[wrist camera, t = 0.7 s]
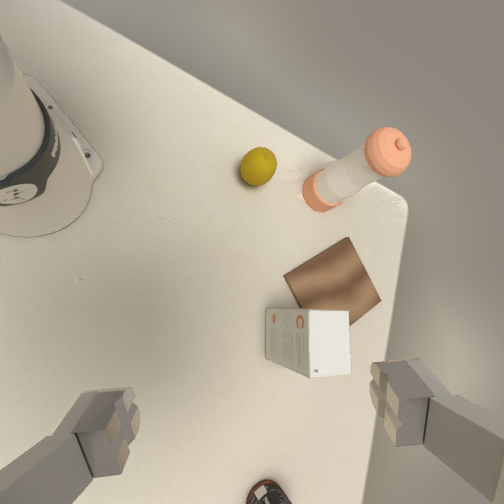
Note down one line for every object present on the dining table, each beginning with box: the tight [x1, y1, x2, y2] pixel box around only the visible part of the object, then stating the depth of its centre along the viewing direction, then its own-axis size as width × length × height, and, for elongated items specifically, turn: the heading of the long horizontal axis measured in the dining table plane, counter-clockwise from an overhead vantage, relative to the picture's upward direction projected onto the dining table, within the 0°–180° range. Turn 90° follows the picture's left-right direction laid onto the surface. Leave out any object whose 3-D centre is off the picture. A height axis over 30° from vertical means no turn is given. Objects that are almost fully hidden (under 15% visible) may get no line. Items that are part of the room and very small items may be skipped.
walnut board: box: [284, 237, 381, 326], centre depth 51 cm, size 14×16×1 cm
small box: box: [266, 308, 352, 378], centre depth 40 cm, size 8×6×13 cm
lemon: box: [240, 147, 277, 186], centre depth 45 cm, size 6×6×8 cm
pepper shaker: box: [303, 127, 411, 212], centre depth 45 cm, size 7×7×19 cm
